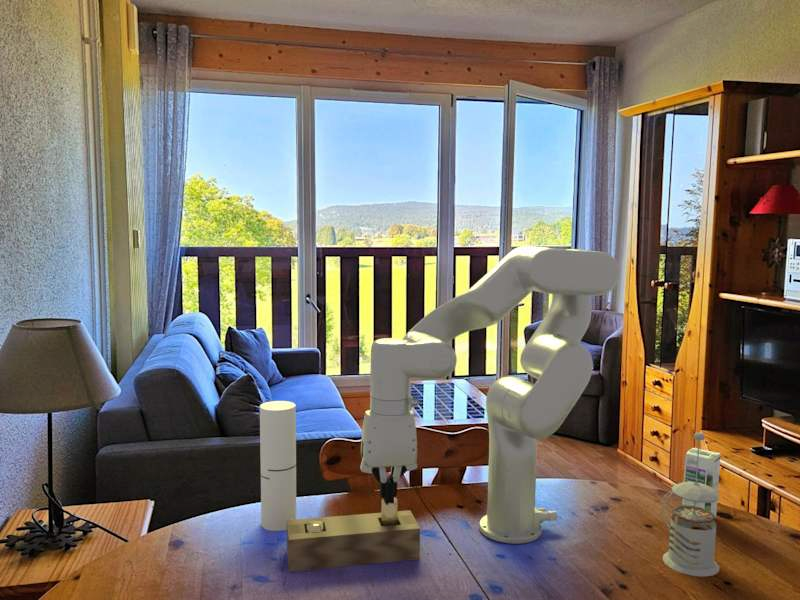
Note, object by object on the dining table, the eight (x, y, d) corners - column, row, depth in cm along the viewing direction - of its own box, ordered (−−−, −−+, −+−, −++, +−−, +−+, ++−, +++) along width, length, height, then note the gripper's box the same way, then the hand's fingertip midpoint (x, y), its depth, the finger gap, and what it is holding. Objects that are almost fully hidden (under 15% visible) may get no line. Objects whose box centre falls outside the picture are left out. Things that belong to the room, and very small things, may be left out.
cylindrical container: (289, 532, 138) (288, 411, 134) (255, 529, 139) (254, 409, 136) (301, 517, 144) (300, 402, 141) (269, 514, 146) (267, 399, 143)
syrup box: (680, 518, 146) (684, 452, 145) (689, 509, 151) (693, 445, 149) (708, 526, 143) (713, 459, 141) (716, 517, 147) (721, 451, 145)
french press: (694, 581, 121) (703, 444, 118) (643, 552, 131) (650, 425, 128) (731, 568, 125) (741, 436, 122) (679, 542, 136) (687, 419, 133)
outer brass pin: (322, 550, 129) (322, 520, 128) (324, 558, 126) (324, 527, 126) (306, 551, 129) (306, 521, 128) (307, 559, 126) (307, 528, 125)
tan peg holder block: (409, 539, 135) (410, 510, 135) (419, 559, 128) (420, 528, 127) (286, 550, 130) (286, 520, 130) (289, 571, 123) (288, 539, 122)
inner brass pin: (395, 526, 132) (395, 496, 131) (398, 533, 129) (399, 502, 128) (380, 527, 131) (380, 497, 130) (382, 534, 128) (383, 504, 127)
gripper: (424, 398, 132) (421, 490, 134) (347, 401, 129) (346, 495, 131) (434, 409, 125) (431, 505, 127) (353, 412, 122) (351, 511, 124)
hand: (388, 500), depth 129 cm, fingers closed
